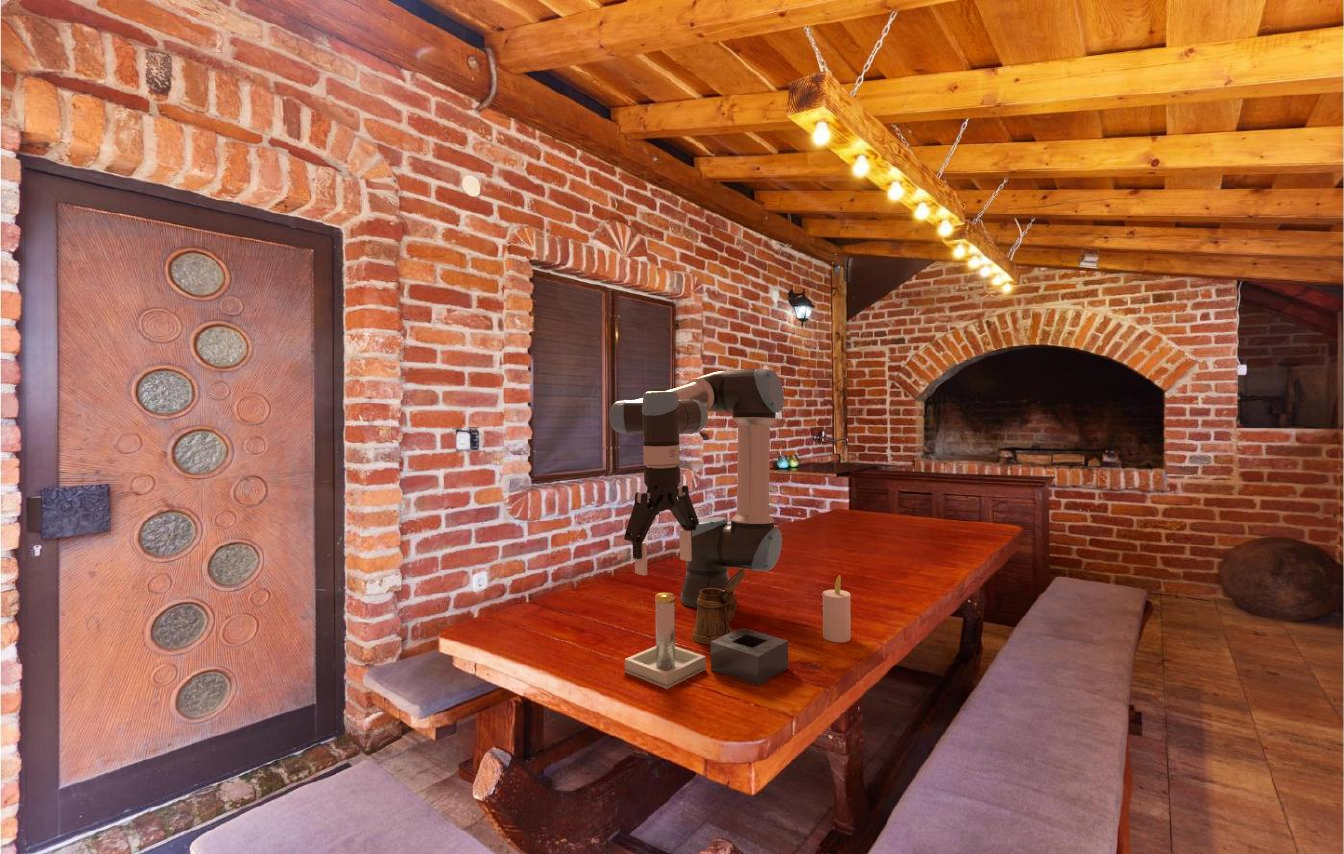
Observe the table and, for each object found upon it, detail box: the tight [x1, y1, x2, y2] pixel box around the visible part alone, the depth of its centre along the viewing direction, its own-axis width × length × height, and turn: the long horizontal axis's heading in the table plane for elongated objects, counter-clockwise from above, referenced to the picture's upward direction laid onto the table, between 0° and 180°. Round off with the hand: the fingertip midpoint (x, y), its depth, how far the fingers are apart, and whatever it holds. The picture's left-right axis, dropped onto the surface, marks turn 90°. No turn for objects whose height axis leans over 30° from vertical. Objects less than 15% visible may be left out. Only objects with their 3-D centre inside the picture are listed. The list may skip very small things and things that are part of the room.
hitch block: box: [710, 627, 789, 687], centre depth 135 cm, size 12×11×6 cm
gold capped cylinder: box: [654, 592, 676, 671], centre depth 135 cm, size 4×4×15 cm
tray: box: [624, 645, 707, 690], centre depth 135 cm, size 12×12×3 cm
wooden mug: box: [692, 569, 746, 645], centre depth 152 cm, size 9×14×18 cm, turn 51°
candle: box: [821, 574, 852, 643], centre depth 152 cm, size 6×6×15 cm
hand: (664, 566), depth 135 cm, fingers open, 13 cm apart
